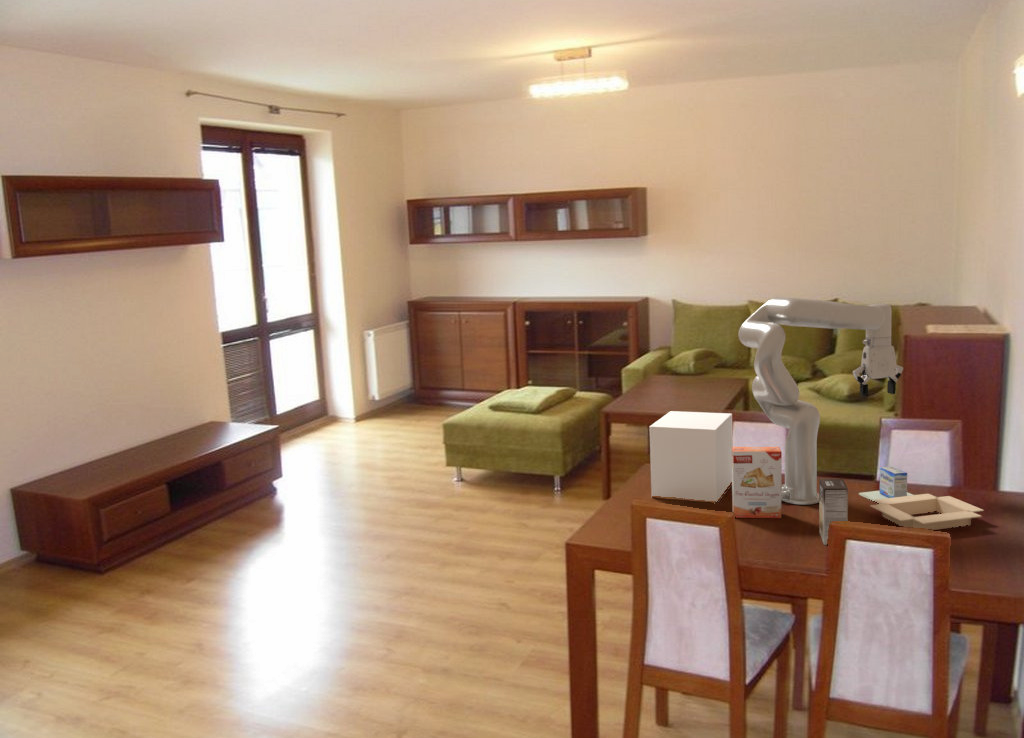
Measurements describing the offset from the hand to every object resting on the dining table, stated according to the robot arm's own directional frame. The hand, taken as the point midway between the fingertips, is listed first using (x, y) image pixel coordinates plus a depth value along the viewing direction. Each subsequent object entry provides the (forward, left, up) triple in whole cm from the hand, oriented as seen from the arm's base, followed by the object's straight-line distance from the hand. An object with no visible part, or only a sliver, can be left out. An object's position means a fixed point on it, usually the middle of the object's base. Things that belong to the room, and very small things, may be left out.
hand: (877, 394), depth 272 cm
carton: (-8, -35, -30) cm, 47 cm away
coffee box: (-40, -40, -31) cm, 64 cm away
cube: (-57, +16, -31) cm, 67 cm away
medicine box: (-4, -14, -30) cm, 33 cm away
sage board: (-4, -14, -30) cm, 34 cm away
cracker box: (-50, -15, -31) cm, 60 cm away
